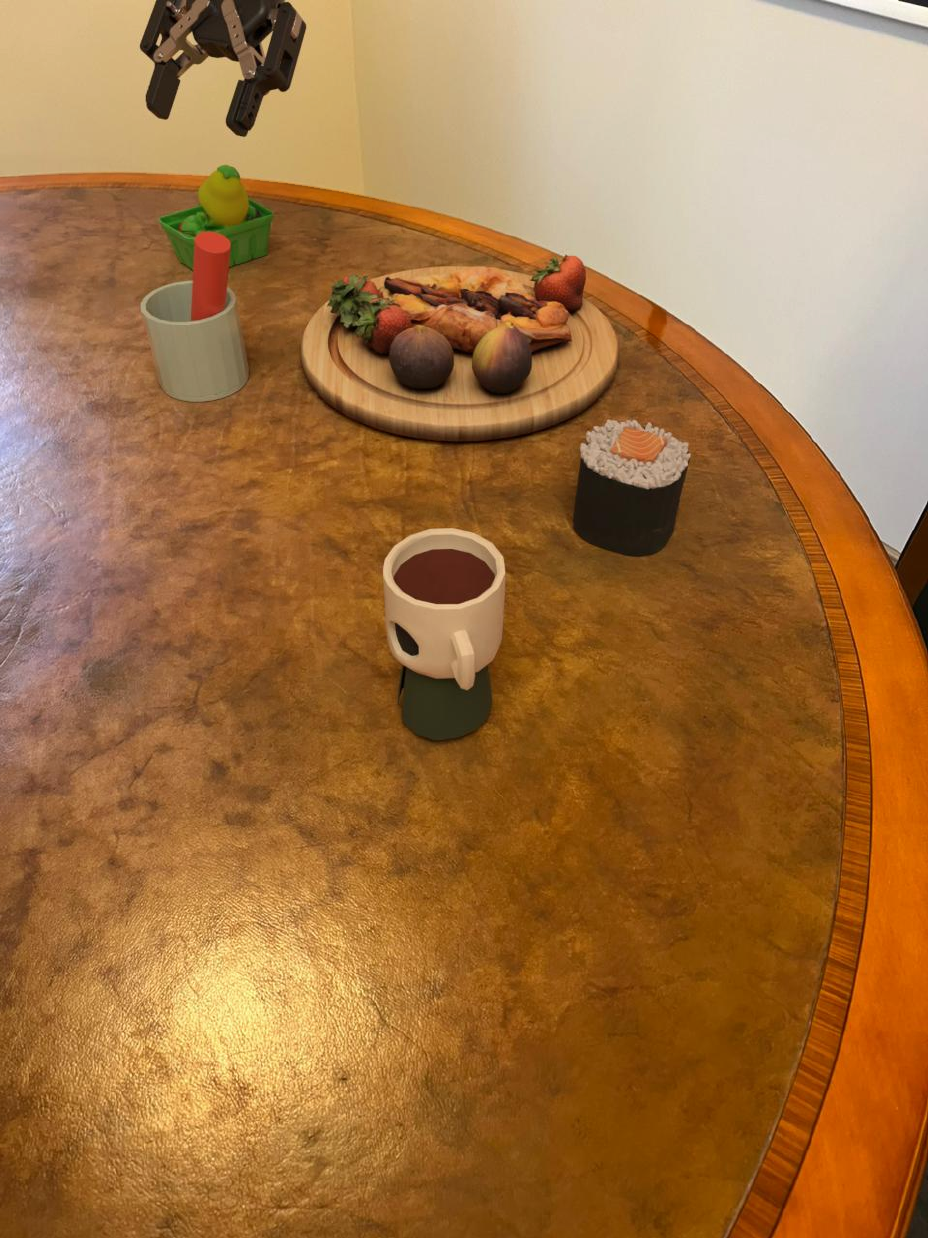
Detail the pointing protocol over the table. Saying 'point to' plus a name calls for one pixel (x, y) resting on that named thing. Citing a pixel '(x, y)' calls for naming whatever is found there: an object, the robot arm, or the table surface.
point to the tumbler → (194, 345)
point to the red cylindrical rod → (209, 275)
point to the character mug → (444, 627)
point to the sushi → (629, 487)
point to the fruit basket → (221, 219)
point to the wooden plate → (461, 350)
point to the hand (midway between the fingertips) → (195, 122)
